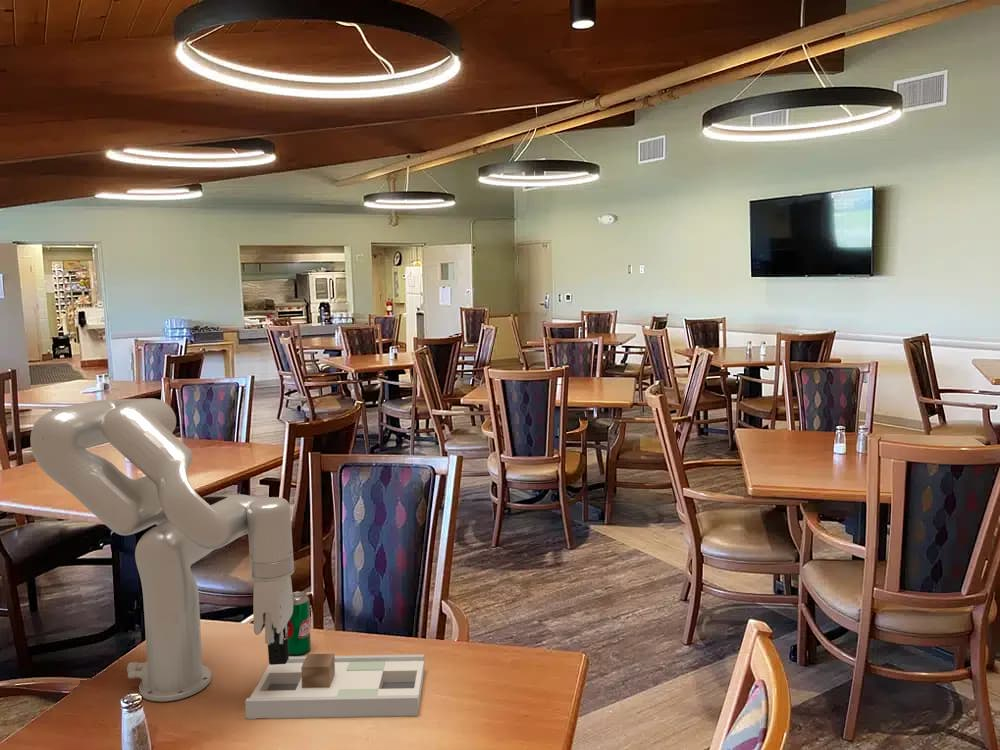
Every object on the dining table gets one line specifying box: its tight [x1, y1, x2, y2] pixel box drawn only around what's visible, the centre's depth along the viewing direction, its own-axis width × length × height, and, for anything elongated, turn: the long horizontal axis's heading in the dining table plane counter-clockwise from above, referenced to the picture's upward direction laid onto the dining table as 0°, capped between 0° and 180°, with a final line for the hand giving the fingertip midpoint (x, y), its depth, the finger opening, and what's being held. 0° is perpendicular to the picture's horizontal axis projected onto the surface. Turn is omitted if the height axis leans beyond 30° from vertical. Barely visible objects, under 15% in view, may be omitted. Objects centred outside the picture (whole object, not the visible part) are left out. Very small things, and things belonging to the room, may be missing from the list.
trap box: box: [245, 653, 426, 720], centre depth 138 cm, size 30×16×3 cm, turn 91°
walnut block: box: [301, 653, 335, 688], centre depth 137 cm, size 5×5×4 cm
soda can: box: [287, 591, 312, 657], centre depth 154 cm, size 5×5×12 cm
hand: (279, 662), depth 137 cm, fingers closed
